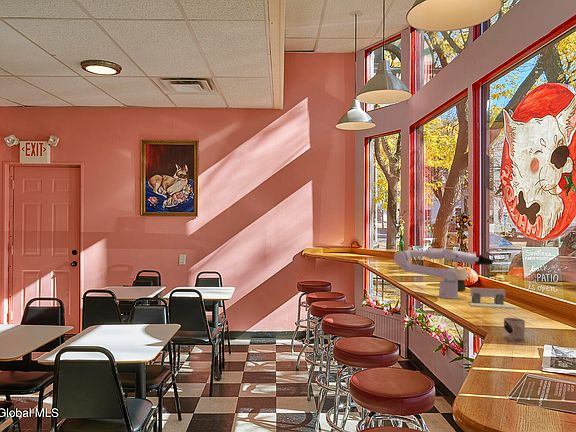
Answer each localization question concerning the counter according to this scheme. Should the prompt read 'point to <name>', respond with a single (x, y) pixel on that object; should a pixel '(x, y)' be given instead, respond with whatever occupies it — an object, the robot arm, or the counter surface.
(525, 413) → the counter surface
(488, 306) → the mat
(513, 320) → the mug
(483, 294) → the rail
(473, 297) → the brown boxy piece
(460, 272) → the character mug
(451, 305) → the counter surface
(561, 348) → the counter surface
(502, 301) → the post right
